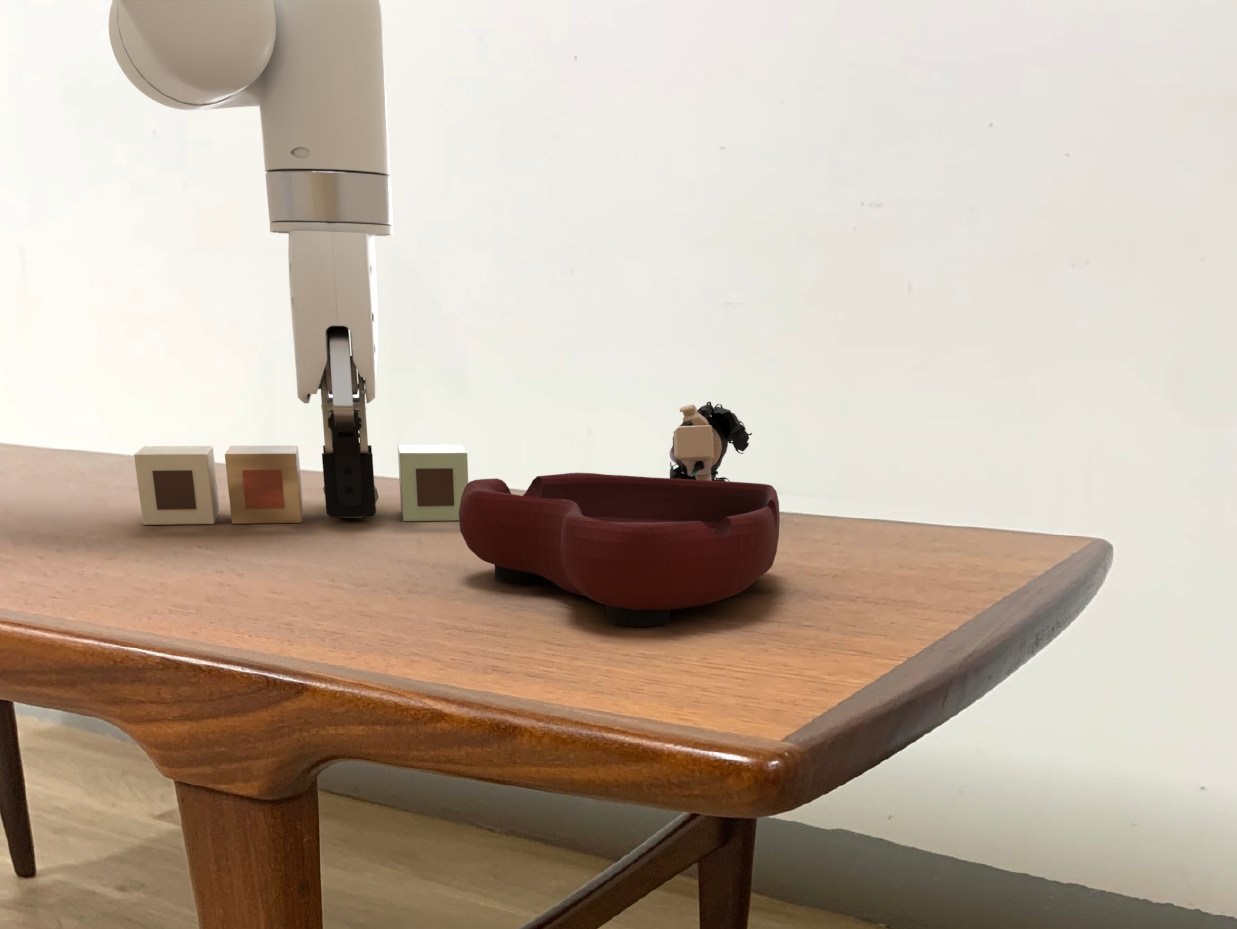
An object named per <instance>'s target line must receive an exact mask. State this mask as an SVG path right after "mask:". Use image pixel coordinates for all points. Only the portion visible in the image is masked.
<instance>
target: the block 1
mask: <svg viewBox="0 0 1237 929" xmlns="http://www.w3.org/2000/svg"><path fill="white" fill-rule="evenodd" d="M133 457H134V465H135V474H136V480H137V487H138V488H137V489H138V496H139V504H140V511H141V518H142V525H143V526H173V525H174V526H178V525H179V526H180V525H184V526H185V525H214V524H215V523H216V521H217V520H218V518H219V515H220V514H221V509H220V508H221V507H220V498H219V489H218V482H217V480H218V479H217V471H216V462H215V453H214V446H212V445H145V446H143V447H141V448H140V449H139V450H138V451H136V452H135V453H134V454H133Z"/></svg>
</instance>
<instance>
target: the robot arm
mask: <svg viewBox="0 0 1237 929" xmlns="http://www.w3.org/2000/svg"><path fill="white" fill-rule="evenodd" d="M381 5H382V4H381V2H380V0H112V1H111V4H110V7H109V8H110V9H109V14H108V36H109V42H110V46H111V49H112V52H113V55H114V57H115V60H116V61H117V64H118V66H119V67H120V68H119V69H120V70H121V71H122V73H123V74H124V75H125V77H126V78H127V79H128V80H129V81H130V83H131V85H133V86H134V87H135V88H136V89H137V90H138V91H140V92H141V93H142V94H143V95H145V96H146V97H148V98H149V99H150V100H152V101H154V102H156V103H158V104H160V105H162V106H165V107H168V108H170V109H175V110H179V111H191V112H193V111H194V112H195V111H196V112H197V111H208V110H209V111H210V110H211V111H212V110H218V109H219V110H220V109H221V110H222V109H231V108H245V107H246V108H248V107H249V108H250V107H259V117H260V119H259V120H260V128H261V141H262V152H263V164H264V172H265V183H266V185H265V186H266V196H267V197H266V198H267V209H268V219H269V220H268V222H269V232H270V233H275V234H277V233H278V234H288V243H287V244H288V246H287V247H288V250H287V252H288V253H287V256H288V257H287V258H288V282H289V283H288V284H289V298H290V300H289V301H290V312H291V325H292V334H293V335H292V336H293V337H292V338H293V349H294V350H293V351H294V361H295V362H294V363H295V377H296V391H297V392H296V393H297V399H298V400H300V401H301V402H302V403H303V404H310V401H311V398H312V395H317V394H318V391H319V390H320V397H321V404H320V408H321V412H322V427H323V440H324V441H323V442H324V444H323V445H322V449H323V450H322V451H323V452H322V453H321V462H322V463H321V464H322V473H323V475H322V476H323V488H324V489H325V494H324V500H325V502H324V503H325V513H326V515H327V516H328V517H330V518H340V517H363V518H371V517H373V516H375V515H376V513H377V508H376V507H377V506H376V505H377V504H375V488H374V485H375V475H374V474H375V473H374V458H373V456H374V455H373V449H372V447H373V446H372V444H369V440H368V438H369V437H368V424H367V423H368V422H367V404H370V403H371V402H372V401H374V400H375V398H376V396H377V395H376V393H377V381H378V366H379V364H378V362H379V314H378V289H377V288H378V287H377V268H376V266H377V265H376V248H375V247H376V246H375V237H388V236H389V237H392V236H394V226H393V225H394V224H393V222H394V221H393V205H392V204H393V203H392V185H391V164H390V163H391V162H390V160H391V159H390V144H389V142H390V141H389V124H388V105H387V103H388V102H387V87H386V71H385V69H386V68H385V66H386V65H385V48H384V31H383V30H384V28H383V15H382V6H381Z"/></svg>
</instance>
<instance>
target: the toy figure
mask: <svg viewBox="0 0 1237 929" xmlns="http://www.w3.org/2000/svg"><path fill="white" fill-rule="evenodd" d="M679 413H682V414H683V418H682V422H681V424H680V425H679V426H677V428H676V429H675V430H674V431H673V436H672V445H671V447H670V449H669V458H670V460H671V461H670V462H669V467H670V468H669V478H673V479H693V480H711V481H728V482H731V481H730V479H729V478H727V477H724V476H722V477H716V476H717V475H719V471H718V469H719V467H721V464H722V460H723V458H724V457H725V455H726V454H727V451H728V447H729V444H732V446H733V448H734V450H735V452H737V453H738V454H741V455H742V454H744V452H745V451H746V449H747V448H748V447H749V445H750V443H749V442H748V441H749V440H750V436H752V435H753V433H752V432H750V433H748V432H747V429H746V426H745V424H744V422H743V421H741V420H739V418H738V416H737V415H736V413H734V412H732V411H731V410H730V409H727V408H726V407H725V408H724V407H723V405H722V404H720V403H717V404H715V405H714V406H713V405H712V402H711V401H707V402H706V404H705V405H702V406H701V407H699V408H698V409H697V406H696V405H694V404H689V405H685V406H681V407H680V408H679ZM672 462H673V463H674V464H673V465H672ZM675 466H676V467H675ZM674 467H675V468H674Z"/></svg>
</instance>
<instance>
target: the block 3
mask: <svg viewBox="0 0 1237 929" xmlns="http://www.w3.org/2000/svg"><path fill="white" fill-rule="evenodd" d="M397 459H398V460H397V463H398V477H399V478H398V480H399V498H400V511H401V516H402V521H403V522H447V521H448V522H449V521H450V522H452V521H457V522H458V521H459V507H460V502H461V497H462V494H463V491H464V488H465V486H466V485H467V484H468V483H469V465H468V464H469V462H468V452H467V450H466V449H465V447H464V446H463V444H398V445H397Z"/></svg>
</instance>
